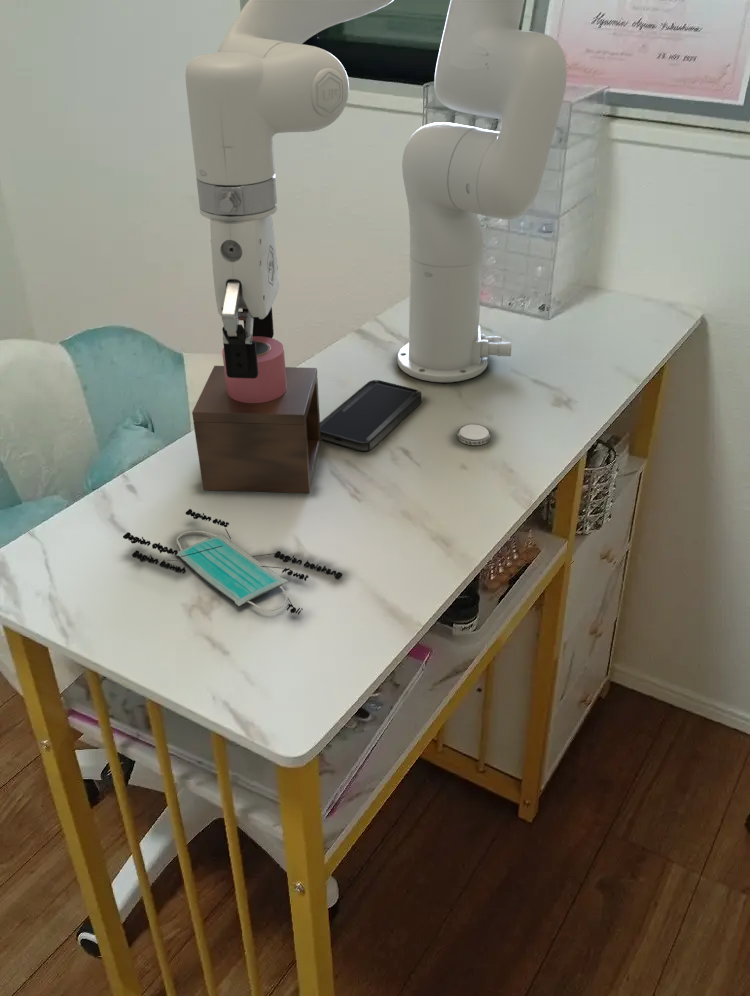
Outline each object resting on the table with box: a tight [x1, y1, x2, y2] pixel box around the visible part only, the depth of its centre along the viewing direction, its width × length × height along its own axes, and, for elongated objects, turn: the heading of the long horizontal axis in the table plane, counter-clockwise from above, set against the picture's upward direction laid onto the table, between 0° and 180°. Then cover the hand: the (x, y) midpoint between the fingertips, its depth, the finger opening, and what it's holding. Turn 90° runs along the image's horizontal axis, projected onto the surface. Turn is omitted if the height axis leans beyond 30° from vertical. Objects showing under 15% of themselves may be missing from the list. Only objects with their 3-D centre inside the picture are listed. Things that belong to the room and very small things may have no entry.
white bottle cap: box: [456, 423, 492, 446], centre depth 110 cm, size 4×4×1 cm
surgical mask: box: [122, 508, 343, 616], centre depth 89 cm, size 21×4×10 cm
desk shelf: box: [191, 365, 322, 494], centre depth 103 cm, size 12×11×10 cm
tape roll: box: [221, 336, 287, 403], centre depth 99 cm, size 7×7×5 cm
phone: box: [320, 379, 422, 452], centre depth 114 cm, size 8×1×15 cm
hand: (251, 356), depth 97 cm, fingers open, 9 cm apart
